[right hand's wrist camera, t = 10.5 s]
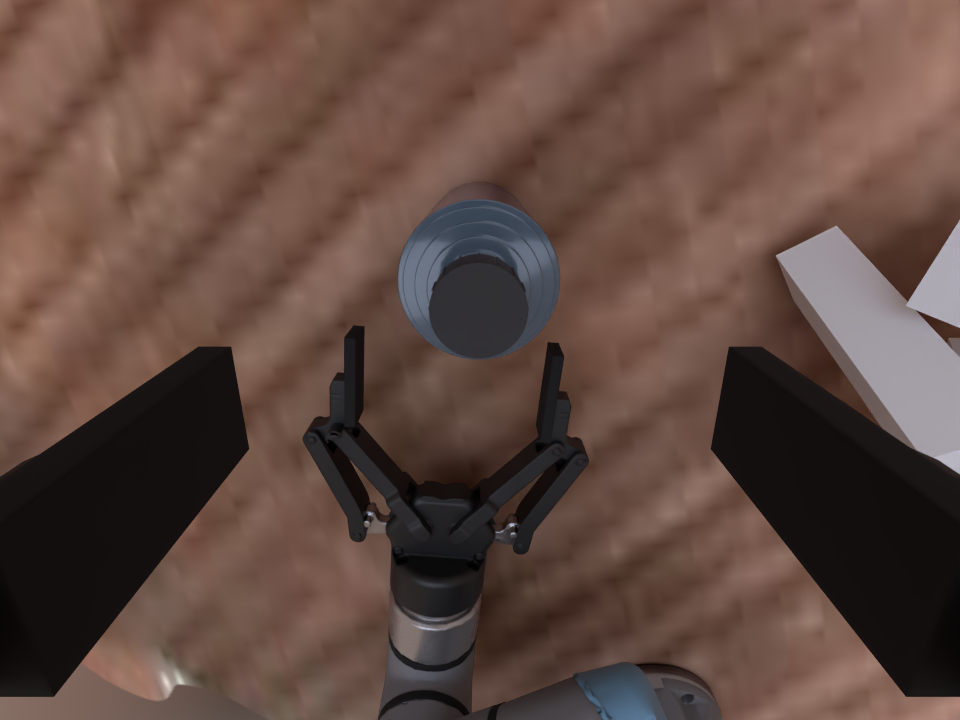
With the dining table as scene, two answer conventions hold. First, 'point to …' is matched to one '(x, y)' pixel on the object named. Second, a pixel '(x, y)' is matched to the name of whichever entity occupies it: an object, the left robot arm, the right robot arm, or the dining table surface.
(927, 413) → the pile of blocks
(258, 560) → the dining table surface
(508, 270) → the cap
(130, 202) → the dining table surface
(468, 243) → the bottle
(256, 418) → the dining table surface
